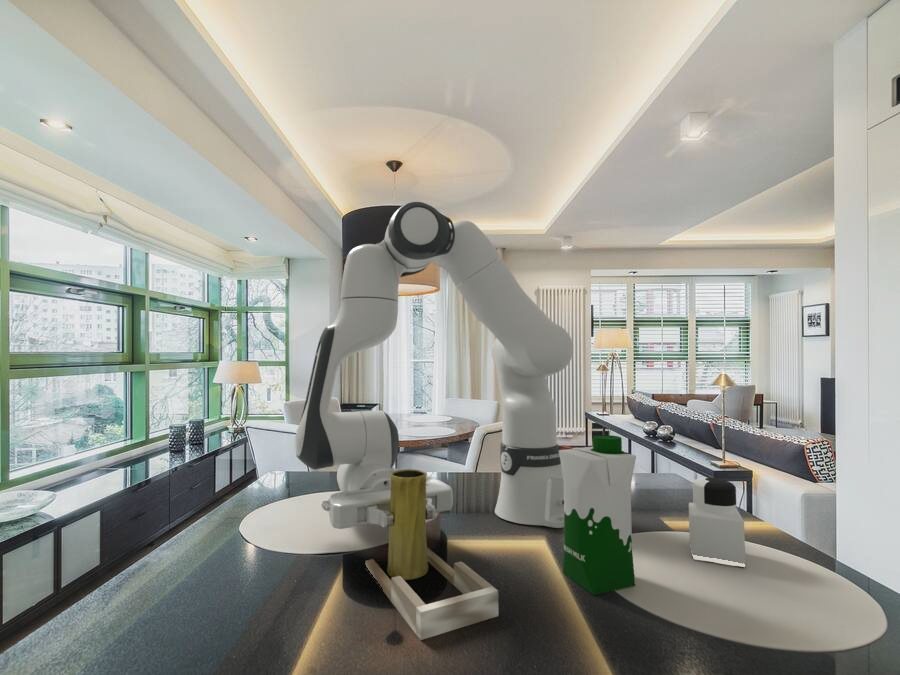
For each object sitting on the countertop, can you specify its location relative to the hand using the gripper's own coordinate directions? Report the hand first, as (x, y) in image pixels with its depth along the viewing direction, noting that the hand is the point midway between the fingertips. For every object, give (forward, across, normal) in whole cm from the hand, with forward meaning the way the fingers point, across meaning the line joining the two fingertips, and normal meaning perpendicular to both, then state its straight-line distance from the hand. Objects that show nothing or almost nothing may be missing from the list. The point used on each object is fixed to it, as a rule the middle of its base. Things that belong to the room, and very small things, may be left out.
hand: (410, 517), depth 66 cm
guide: (+5, 0, +8) cm, 10 cm away
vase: (-1, 0, +8) cm, 8 cm away
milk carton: (+14, +23, +8) cm, 28 cm away
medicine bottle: (+17, +46, +8) cm, 50 cm away
